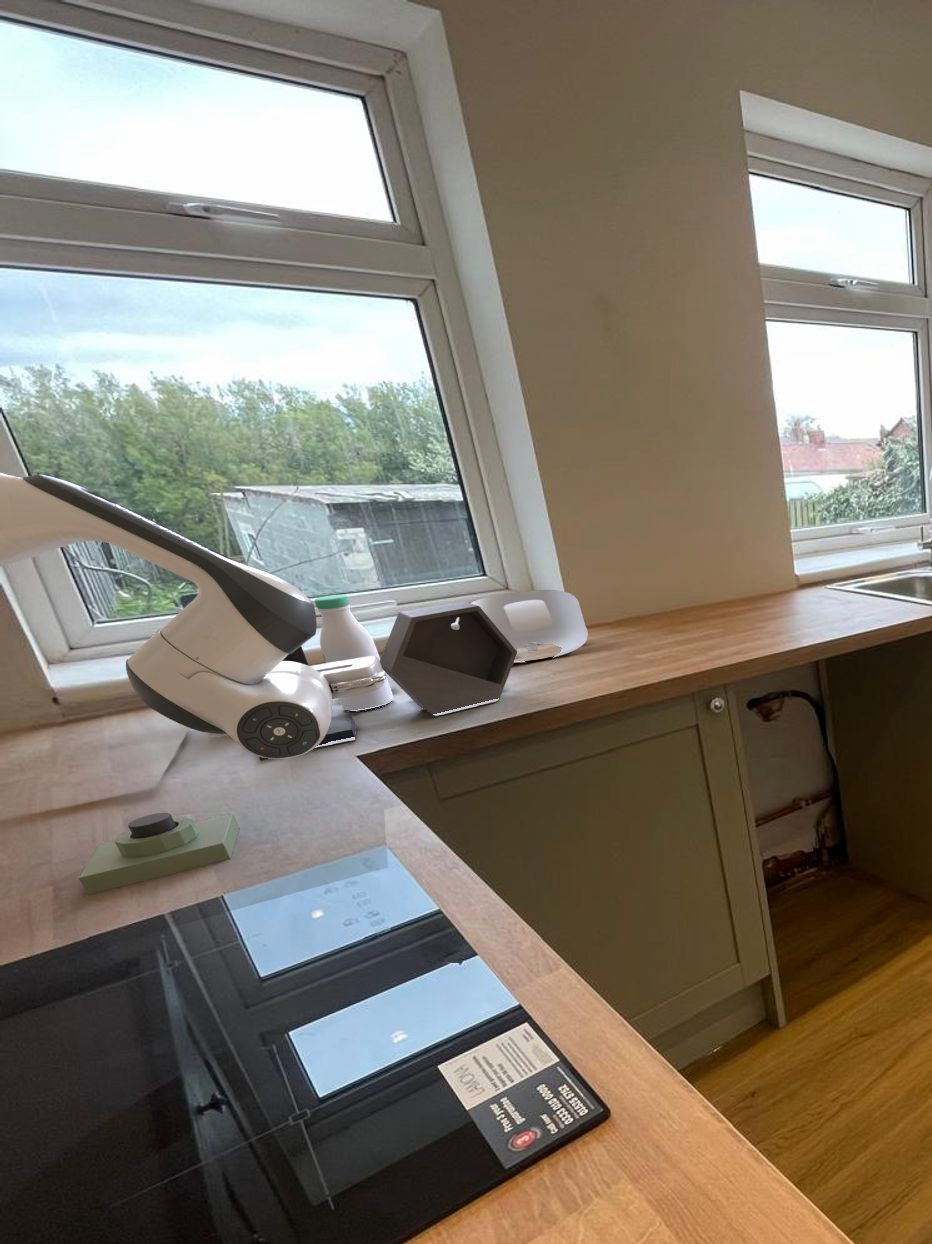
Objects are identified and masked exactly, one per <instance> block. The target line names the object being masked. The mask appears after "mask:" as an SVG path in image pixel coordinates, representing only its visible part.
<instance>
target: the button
mask: <svg viewBox="0 0 932 1244" xmlns="http://www.w3.org/2000/svg"><path fill="white" fill-rule="evenodd" d="M173 818H174V817H173V816H172V814H171V813H169V812H157V813H151V814H147V815H144V816H142V817H139V818H136V819H134V820H132V821H130V822H129V823H128V825H127V827H128V830H130V831H131V833H132V835H133V837H134V838H135V839H138V838H146V837H151V836H155V835H159V834H162V833H165V832H167V831H170V830H172V829H174V828H176V827H177V826H176V824H175V822H174V820H173Z"/></svg>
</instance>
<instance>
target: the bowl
mask: <svg viewBox="0 0 932 1244" xmlns="http://www.w3.org/2000/svg"><path fill="white" fill-rule="evenodd" d="M471 603H472V604H474V605H477V606H480V607H481V609H482V610H483V611H484V612H485V613H486V615H487V616H488V617H489V618H490V619H491V621H492V622H493V623H494V624H495V625H496V627H497V628H498V629H499V630H500V631H501V633H502V634H503V635H504V636H505V637H506V638H507V640H508V641H509V642H510V643H511V644H512V646H513V647H514V648H515V649H516V650H517V648H520V647H525V646H526V649H527V650H528V651H529V652H530V651H537V650H538V645H537V644H553V645H556V646H559V647H561V648H562V649H561V652H560V653H558V654H557V655H555V656H554V657H553V658H556V657H559V656H563V655H567V654H569V653H572V652H573V651H576V650H578V649H579V648H581V647H582V646H583V645H584V644H585V643H586V642H587V640H588V637H589V631H588V627H587V626H586V623H585V619H584V616H583V612H582V609H581V605H580V602H579V600H578V598H576V597H575V596H574V595H573V594H572V593H569V592H568V591H565V590H557V589H536V590H535V589H534V590H525V591H517V592H509V593H502V594H497V595H492V596H491V595H490V596H488V597H483V598H480V599H476V600H474V601H472V602H471ZM514 663H526V662H525V661H516V660H514Z"/></svg>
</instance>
